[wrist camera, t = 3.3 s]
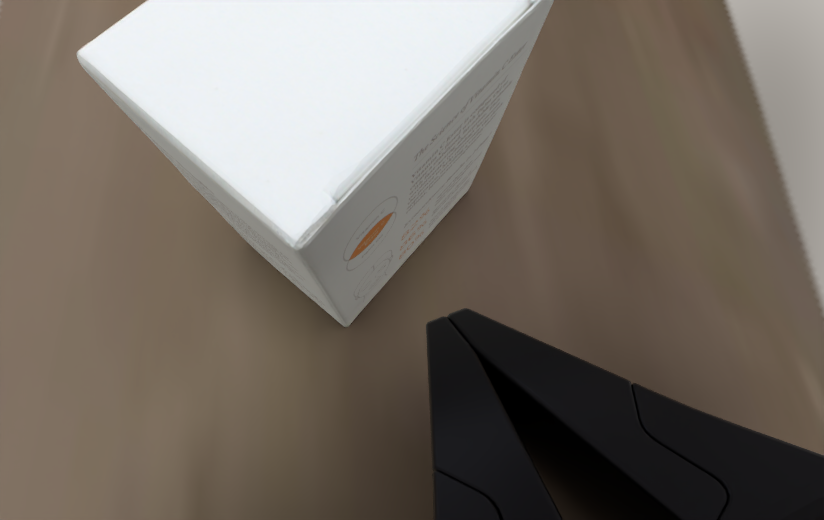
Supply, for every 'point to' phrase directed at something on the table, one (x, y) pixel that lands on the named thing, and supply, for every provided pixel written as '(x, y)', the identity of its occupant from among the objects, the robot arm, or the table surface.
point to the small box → (322, 118)
